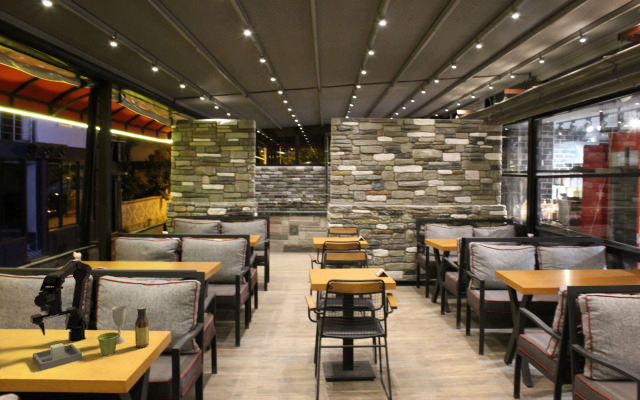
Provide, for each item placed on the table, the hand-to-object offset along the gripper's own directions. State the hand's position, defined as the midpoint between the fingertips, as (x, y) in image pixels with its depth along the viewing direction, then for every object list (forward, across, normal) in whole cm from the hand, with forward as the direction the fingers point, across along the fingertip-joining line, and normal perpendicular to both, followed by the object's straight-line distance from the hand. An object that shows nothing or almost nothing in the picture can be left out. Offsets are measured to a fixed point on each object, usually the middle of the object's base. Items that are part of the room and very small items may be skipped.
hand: (55, 332), depth 190 cm
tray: (+10, +1, +8) cm, 13 cm away
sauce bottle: (+11, -32, +21) cm, 40 cm away
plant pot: (+11, -17, +18) cm, 27 cm away
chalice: (+11, -27, +7) cm, 30 cm away
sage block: (+10, +1, +8) cm, 13 cm away
